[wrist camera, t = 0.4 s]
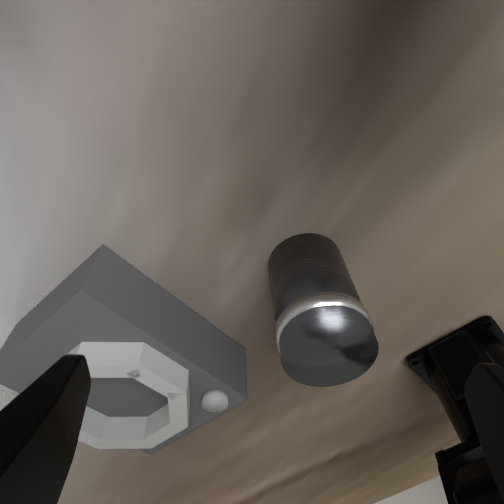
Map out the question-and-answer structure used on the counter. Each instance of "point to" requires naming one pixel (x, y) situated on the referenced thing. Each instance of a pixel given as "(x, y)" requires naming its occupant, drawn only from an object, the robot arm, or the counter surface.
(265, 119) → the counter surface
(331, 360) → the lens
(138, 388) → the camera body
